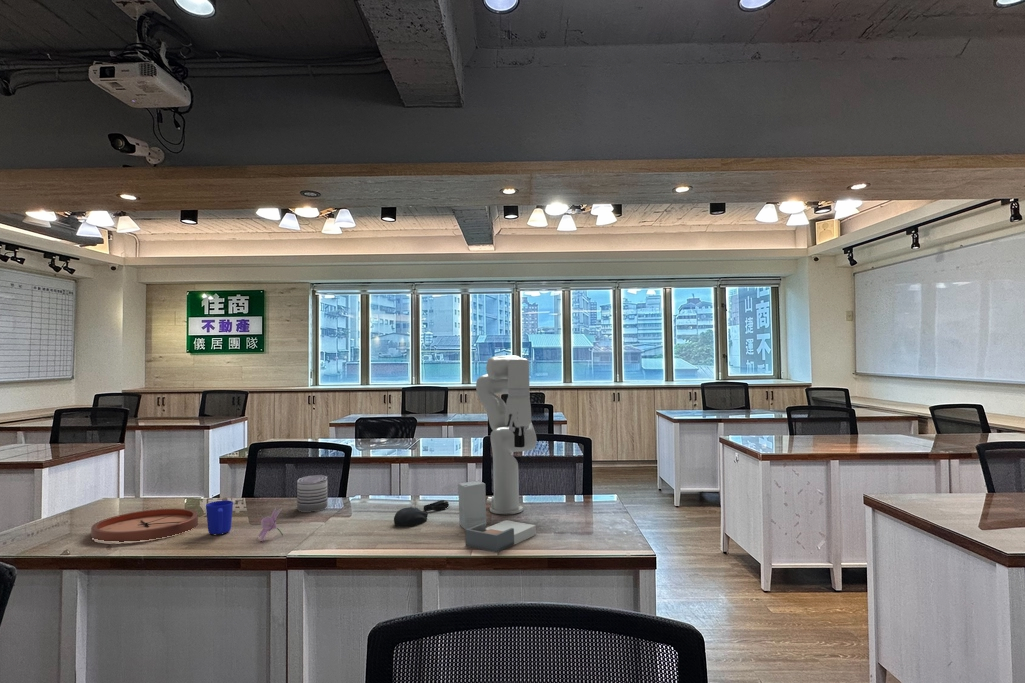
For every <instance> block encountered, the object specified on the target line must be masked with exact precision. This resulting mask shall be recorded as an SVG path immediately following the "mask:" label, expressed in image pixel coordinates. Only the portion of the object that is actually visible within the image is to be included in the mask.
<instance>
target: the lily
mask: <svg viewBox="0 0 1025 683" xmlns="http://www.w3.org/2000/svg"><path fill="white" fill-rule="evenodd" d="M282 510H283V507H281V508H279V509H277V507H275V508H274V509H273V511H272V513H271V514H270V515H269V516H265V517H263V518H262V519H261V521H260V525H261V528H262V529H261V531H260V532H259V534H258V536H259V542H260V541H262V542H263V541H264V539H265V537H266V535H267V534H268V532H270V531H273V530H278V531H279V533H280V534H281V535H284V534H283V532H282V531H281V530H280V529H279V528H278V527H277V521H276V520H277V517H278V516H279V514H280V513H281V511H282Z"/></svg>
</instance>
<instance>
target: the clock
mask: <svg viewBox="0 0 1025 683" xmlns="http://www.w3.org/2000/svg"><path fill="white" fill-rule="evenodd" d="M198 525H199V513H198V511H196V510H193V509H190V508H179V507H178V508H155V509H147V510H146V509H145V510H138V511H135V512H133V511H132V512H128V513H122V514H118V515H115V516H110V517H108V518H105V519H101V520H100V521H97V522H96V523H94V524H93V525H92V526H91V529H90V532H91V533H90V537H92V538H94V539H98V540H104V541H119V542H124V541H140V540H149V539H156V538H162V537H167V536H172V535H175V534H179V533H182V532H185V531H188V530H190V531H192V530H193V529H192V528H194V527H195V528H197V527H198ZM196 526H197V527H196ZM195 528H194V529H195ZM191 529H192V530H191ZM188 532H189V531H188Z"/></svg>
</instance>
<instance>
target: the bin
mask: <svg viewBox="0 0 1025 683" xmlns="http://www.w3.org/2000/svg"><path fill="white" fill-rule="evenodd" d="M486 526H487V522H486V523H481V524H479V525H476V526H474V527H471V528H468V529H464V530H465V532H464V534H465V547H468V548H473V549H477V548H478V550H482V551H486V552H487V551H488V552H493V553H497V554H498V553H499V552H502V551H503V550H507V549H508V548H511V547H513V546H514V528H510V529H508V530H505V531H503V532H501V533H498V534H491V533H486V532H484V531H486V528H487V527H486ZM512 545H513V546H512Z"/></svg>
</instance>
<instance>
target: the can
mask: <svg viewBox="0 0 1025 683" xmlns="http://www.w3.org/2000/svg"><path fill="white" fill-rule="evenodd" d="M296 487H297V488H296V489H297V490H296V492H297V495H296V496H297V497H296V498H297V500H296V504H297V507H296V508H297V509H296V510H297V511H298V510H299V512H300V511H301V512H300V513H312V512H311V511H315V512H319V511H318V510H321V511H323V510H322V509H324V510H326V509H327V508H328V507H327V506H328V502H329V501H328V475H322V474H316V475H315V474H314V475H307V476H303V477H300V478H298V480H296ZM326 507H327V508H326ZM325 508H326V509H325Z"/></svg>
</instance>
